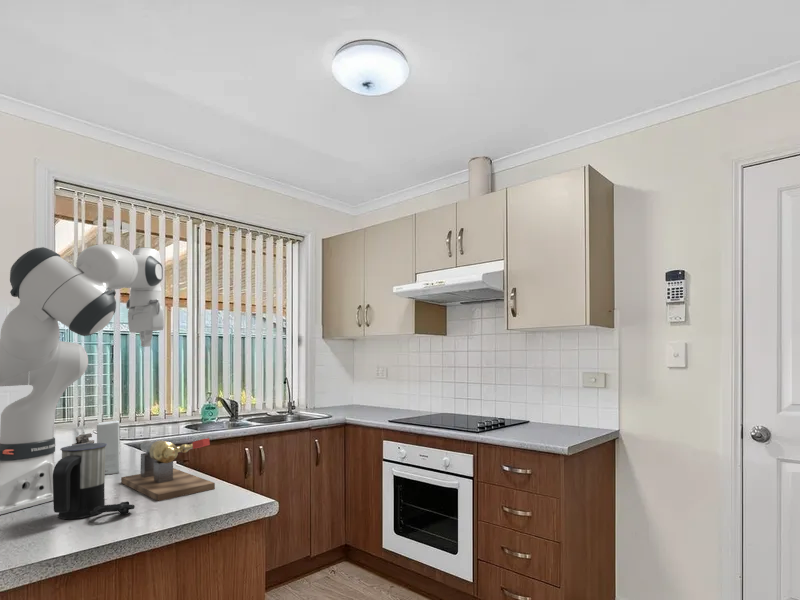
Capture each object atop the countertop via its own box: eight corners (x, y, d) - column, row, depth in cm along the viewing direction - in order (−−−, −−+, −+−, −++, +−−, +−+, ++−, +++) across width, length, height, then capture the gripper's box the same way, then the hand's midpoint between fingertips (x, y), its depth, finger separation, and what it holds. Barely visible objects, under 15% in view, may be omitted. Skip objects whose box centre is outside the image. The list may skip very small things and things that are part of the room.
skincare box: (119, 473, 158) (119, 422, 159) (95, 476, 155) (96, 424, 157) (119, 468, 165) (120, 419, 167) (97, 470, 163) (98, 421, 164)
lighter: (78, 469, 165) (78, 436, 166) (68, 469, 166) (69, 436, 167) (96, 463, 173) (97, 432, 174) (87, 463, 174) (88, 432, 175)
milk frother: (64, 510, 122) (65, 444, 123) (140, 501, 127) (141, 438, 129) (45, 530, 109) (47, 455, 110) (131, 519, 114) (132, 448, 115)
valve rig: (121, 482, 146) (121, 439, 147) (172, 473, 156) (173, 432, 157) (158, 501, 127) (158, 451, 128) (214, 488, 137) (214, 442, 138)
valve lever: (179, 445, 146) (202, 438, 136) (185, 444, 147) (209, 437, 137) (180, 453, 146) (203, 446, 136) (186, 452, 147) (210, 445, 137)
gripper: (169, 299, 159) (169, 345, 158) (145, 304, 173) (144, 347, 172) (147, 298, 154) (147, 346, 153) (124, 303, 169) (123, 347, 168)
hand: (145, 346), depth 163 cm, fingers closed
